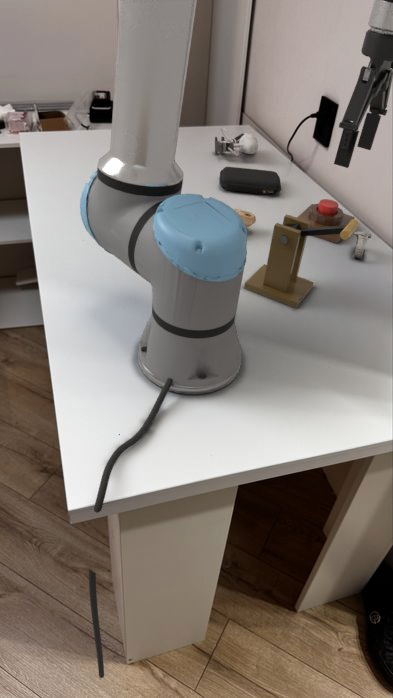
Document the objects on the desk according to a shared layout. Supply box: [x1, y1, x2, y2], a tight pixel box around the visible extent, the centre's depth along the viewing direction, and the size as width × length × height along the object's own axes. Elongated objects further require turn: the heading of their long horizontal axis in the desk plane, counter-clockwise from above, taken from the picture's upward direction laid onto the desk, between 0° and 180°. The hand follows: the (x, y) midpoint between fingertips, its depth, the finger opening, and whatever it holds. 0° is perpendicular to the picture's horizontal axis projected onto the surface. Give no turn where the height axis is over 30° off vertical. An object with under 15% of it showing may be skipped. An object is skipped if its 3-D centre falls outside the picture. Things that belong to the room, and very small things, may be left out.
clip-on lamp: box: [214, 127, 259, 157], centre depth 144 cm, size 12×6×18 cm
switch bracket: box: [244, 214, 315, 309], centre depth 91 cm, size 10×8×13 cm
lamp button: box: [318, 198, 339, 216], centre depth 112 cm, size 4×4×2 cm
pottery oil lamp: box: [231, 207, 257, 229], centre depth 108 cm, size 9×12×7 cm
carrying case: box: [219, 166, 282, 196], centre depth 127 cm, size 11×3×15 cm
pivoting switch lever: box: [285, 218, 360, 240], centre depth 86 cm, size 12×5×2 cm, turn 59°
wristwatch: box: [352, 230, 373, 260], centre depth 106 cm, size 4×6×5 cm, turn 162°
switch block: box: [297, 203, 355, 244], centre depth 114 cm, size 10×10×4 cm
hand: (353, 156), depth 103 cm, fingers open, 13 cm apart
